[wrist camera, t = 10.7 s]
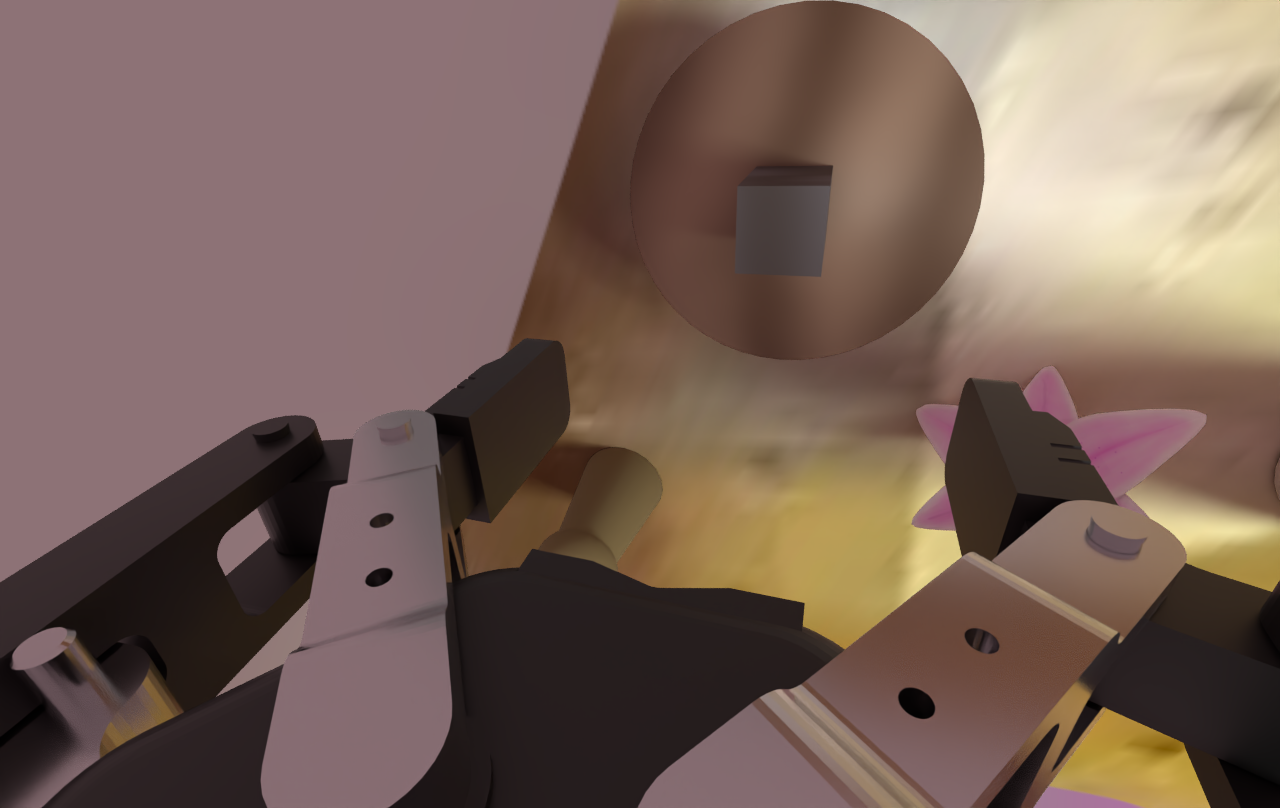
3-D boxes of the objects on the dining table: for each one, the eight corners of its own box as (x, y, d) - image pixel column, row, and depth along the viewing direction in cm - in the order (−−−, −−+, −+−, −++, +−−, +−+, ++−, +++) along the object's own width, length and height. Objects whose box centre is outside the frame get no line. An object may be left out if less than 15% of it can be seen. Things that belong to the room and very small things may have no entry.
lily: (1194, 365, 30) (1225, 371, 22) (1172, 589, 31) (1195, 666, 23) (935, 361, 37) (893, 364, 30) (925, 541, 38) (883, 588, 31)
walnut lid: (1022, -15, 20) (1081, -45, 15) (940, 362, 26) (961, 430, 22) (628, 18, 24) (570, 4, 19) (643, 340, 30) (603, 393, 25)
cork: (583, 440, 42) (511, 541, 33) (664, 455, 41) (611, 566, 32) (586, 506, 46) (520, 615, 36) (661, 522, 44) (612, 640, 35)
